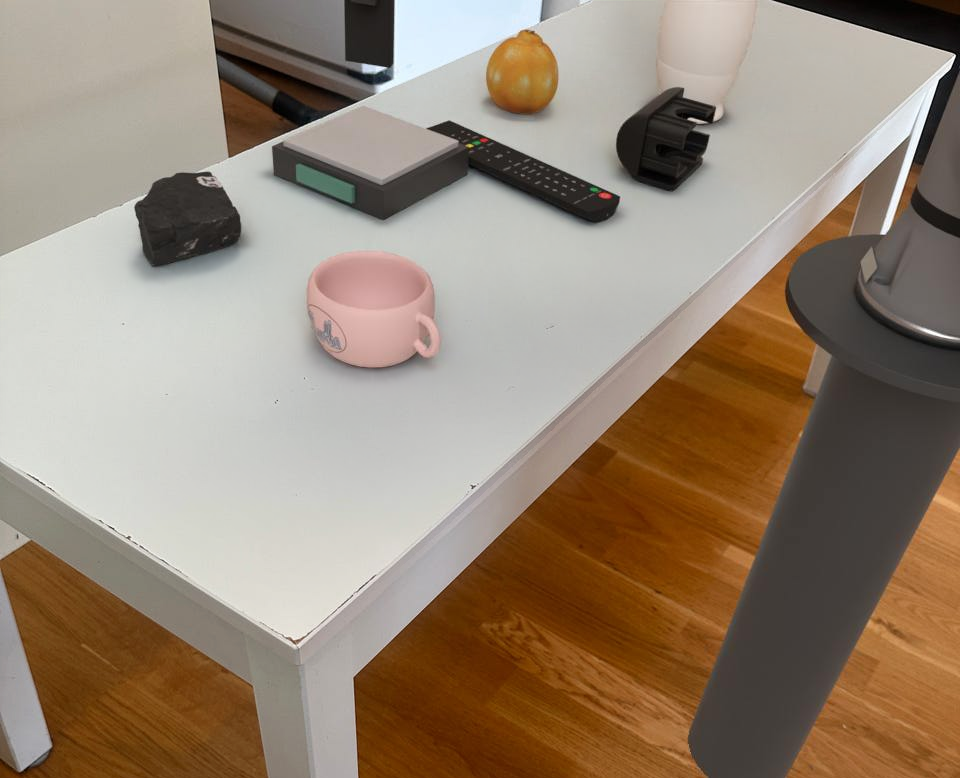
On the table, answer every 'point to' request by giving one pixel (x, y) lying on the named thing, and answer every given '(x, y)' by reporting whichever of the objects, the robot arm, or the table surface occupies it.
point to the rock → (186, 218)
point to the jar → (703, 47)
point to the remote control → (533, 174)
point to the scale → (371, 161)
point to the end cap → (664, 140)
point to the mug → (372, 308)
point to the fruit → (522, 74)
